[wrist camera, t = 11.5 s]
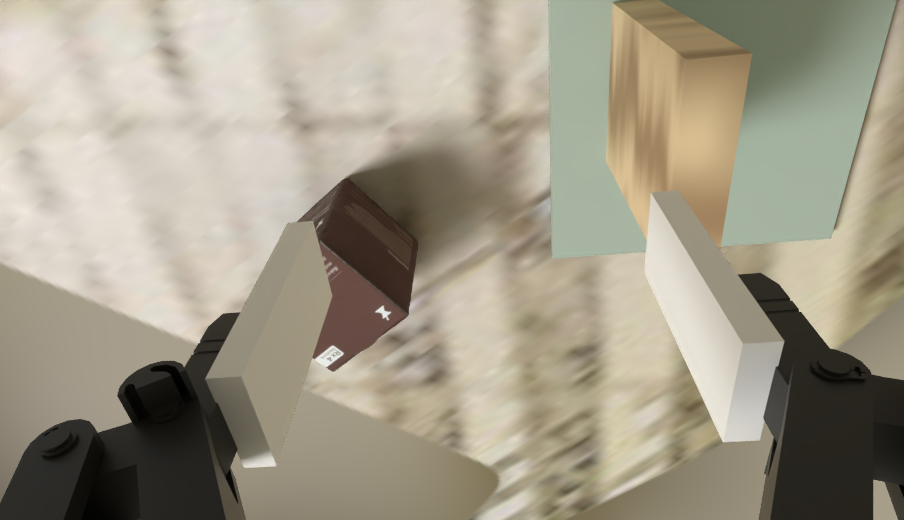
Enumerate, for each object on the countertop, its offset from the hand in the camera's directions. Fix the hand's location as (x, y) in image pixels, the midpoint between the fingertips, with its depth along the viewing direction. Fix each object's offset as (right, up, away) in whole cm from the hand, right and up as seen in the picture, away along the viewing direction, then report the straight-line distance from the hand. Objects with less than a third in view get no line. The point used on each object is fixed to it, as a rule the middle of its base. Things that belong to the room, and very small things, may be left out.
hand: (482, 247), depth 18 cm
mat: (+12, +9, +12) cm, 20 cm away
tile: (+8, +8, +12) cm, 17 cm away
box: (-7, +1, +18) cm, 20 cm away
